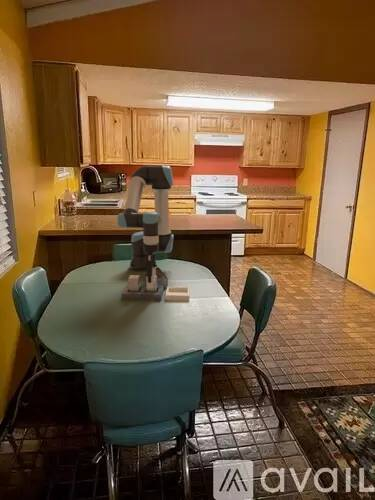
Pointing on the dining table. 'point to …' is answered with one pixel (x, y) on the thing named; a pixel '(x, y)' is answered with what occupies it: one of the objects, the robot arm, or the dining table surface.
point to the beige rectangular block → (134, 283)
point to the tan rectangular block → (153, 285)
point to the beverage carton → (161, 278)
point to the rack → (143, 294)
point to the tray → (177, 293)
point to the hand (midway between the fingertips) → (151, 283)
